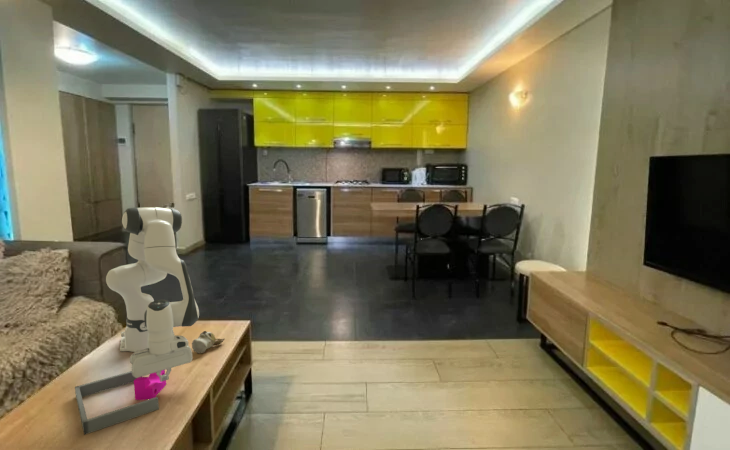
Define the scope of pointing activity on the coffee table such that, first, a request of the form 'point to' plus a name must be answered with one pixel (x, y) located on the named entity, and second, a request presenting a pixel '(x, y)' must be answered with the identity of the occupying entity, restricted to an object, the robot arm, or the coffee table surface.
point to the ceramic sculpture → (205, 342)
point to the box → (113, 416)
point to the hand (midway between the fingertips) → (164, 380)
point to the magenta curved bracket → (148, 386)
